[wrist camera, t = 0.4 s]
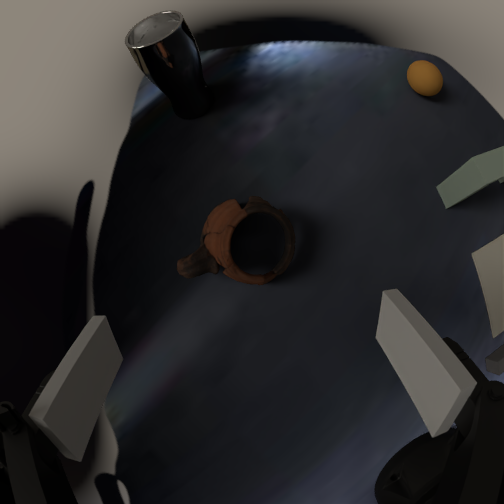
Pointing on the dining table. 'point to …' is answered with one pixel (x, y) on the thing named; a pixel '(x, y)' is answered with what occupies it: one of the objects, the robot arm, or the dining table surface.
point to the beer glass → (171, 62)
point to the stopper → (496, 361)
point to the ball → (424, 78)
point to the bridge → (473, 177)
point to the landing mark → (492, 281)
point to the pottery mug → (219, 240)
